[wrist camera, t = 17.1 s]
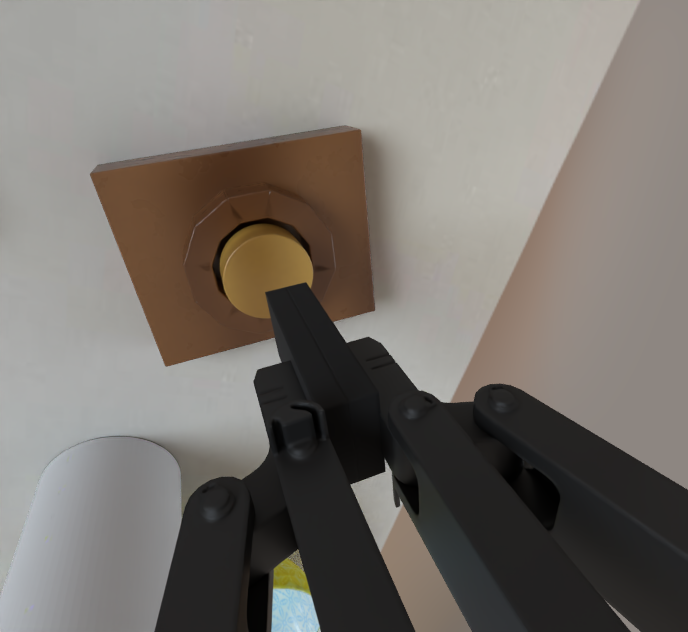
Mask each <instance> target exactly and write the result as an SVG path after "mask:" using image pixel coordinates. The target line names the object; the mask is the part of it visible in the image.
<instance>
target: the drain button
mask: <svg viewBox="0 0 688 632" xmlns="http://www.w3.org/2000/svg"><path fill="white" fill-rule="evenodd" d="M220 273H221V278H222V282H223V286H224V290H225V293H226V295H227V297H228V299H229V300H230V302H231V303H232V304H233V305H234V306H235V307H236V308H237V309H238V310H240V311H241V312H243V313H245V314H247V315H249V316H252V317H256V318H271V317H270V312H269V308H268V304H267V299H266V295H265V292H268V291H272V290H276V289H280V288H284V287H288V286H292V285H296V284H301V283H305V282H306V283H307V284H308V286H309V287H310V289H311V286H312V281H313V266H312V262H311V260H310V257H309V255H308V254H307V252H306V251H305V249H304V248H303V247H302V245H301V244H300V243H299V242H298V240H297V239H296V238H295V237H294V236H293V235H292V234H291V233H290V232H289V231H287V230H286V229H284V228H282V227H279V226H277V225H273V224H254V225H251V226H248V227H245V228H243V229H241V230H240V231H238V232H237V233H235V234H234V235H233V236H232V237H231V238H230V239H229V240H228V242H227V243H226V244H225V246H224V248H223V250H222V253H221V257H220Z"/></svg>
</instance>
